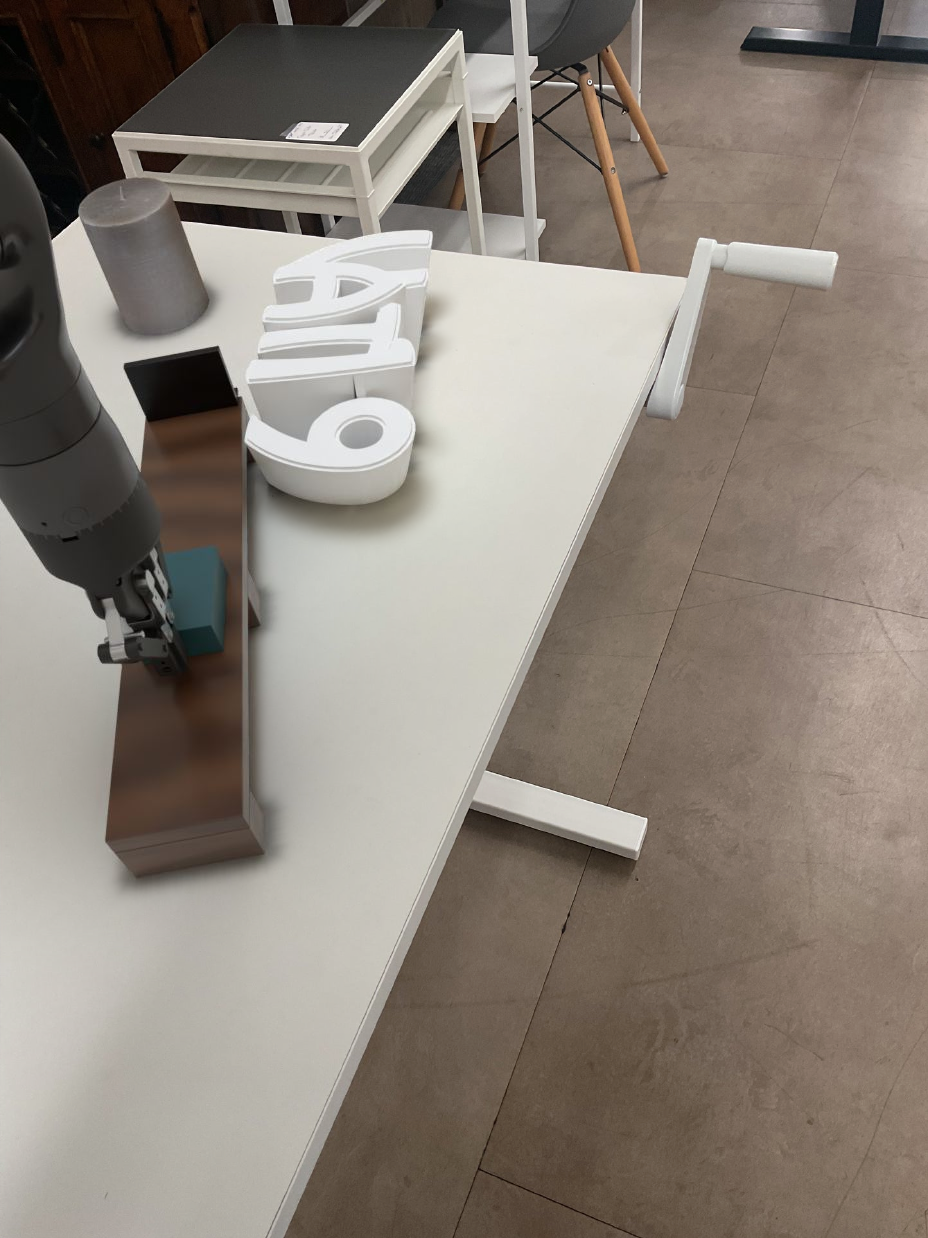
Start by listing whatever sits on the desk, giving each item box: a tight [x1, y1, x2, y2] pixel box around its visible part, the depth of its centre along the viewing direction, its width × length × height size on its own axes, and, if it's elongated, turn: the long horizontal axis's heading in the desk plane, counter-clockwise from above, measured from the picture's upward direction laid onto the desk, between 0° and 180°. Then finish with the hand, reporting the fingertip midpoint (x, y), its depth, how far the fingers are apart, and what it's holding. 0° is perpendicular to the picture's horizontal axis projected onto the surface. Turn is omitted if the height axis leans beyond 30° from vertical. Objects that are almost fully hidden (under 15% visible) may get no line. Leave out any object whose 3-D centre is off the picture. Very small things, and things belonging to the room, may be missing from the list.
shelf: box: [104, 395, 266, 879], centre depth 81 cm, size 44×9×6 cm, turn 8°
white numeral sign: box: [245, 229, 434, 506], centre depth 95 cm, size 35×16×11 cm, turn 175°
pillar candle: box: [77, 176, 210, 337], centre depth 108 cm, size 10×10×15 cm
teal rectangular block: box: [142, 545, 227, 664], centre depth 75 cm, size 8×6×3 cm
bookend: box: [123, 345, 239, 422], centre depth 90 cm, size 2×8×6 cm, turn 98°
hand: (175, 667), depth 71 cm, fingers closed
